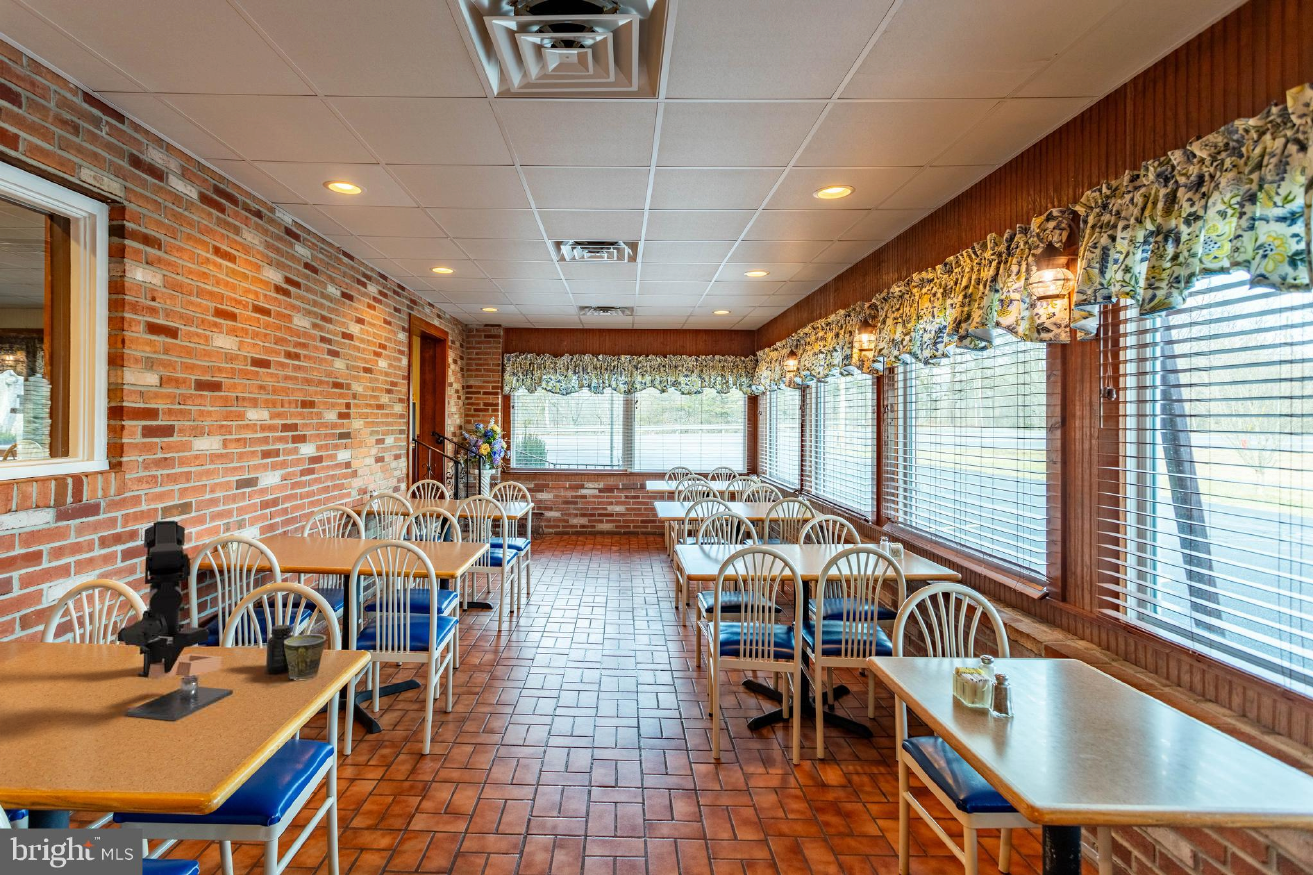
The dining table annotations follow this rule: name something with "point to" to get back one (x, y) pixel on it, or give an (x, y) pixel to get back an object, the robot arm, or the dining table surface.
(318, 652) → the ceramic cup
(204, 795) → the dining table surface
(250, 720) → the dining table surface
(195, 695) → the base with metal peg
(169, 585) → the robot arm
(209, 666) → the square ring with tab
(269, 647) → the supplement bottle
